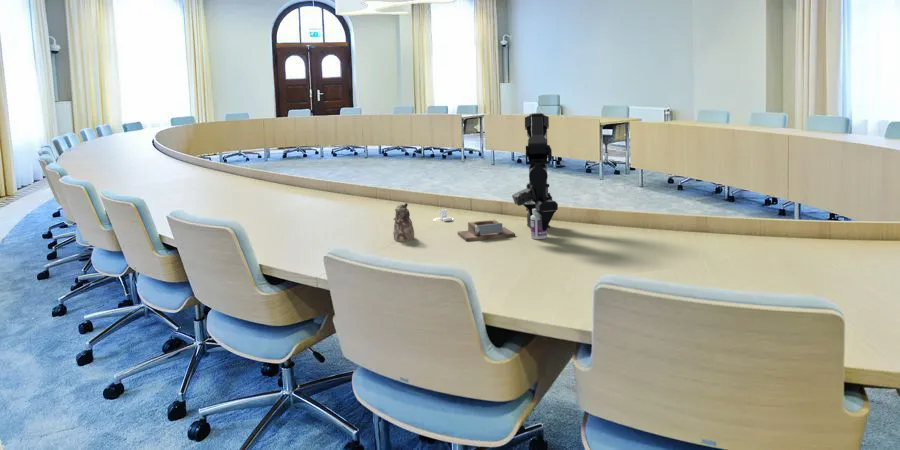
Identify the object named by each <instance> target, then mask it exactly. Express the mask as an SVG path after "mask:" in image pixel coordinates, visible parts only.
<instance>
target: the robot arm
mask: <svg viewBox="0 0 900 450" xmlns="http://www.w3.org/2000/svg"><path fill="white" fill-rule="evenodd" d="M549 119H550V117H549V116H548V115H545V114H544V113H541V112H537V113H536V112H533V113H531V114H530V113H529V115H527V116H526V117H524V130H526V136H527V137H528V139H527V145H525V165H529V166H528V181H529V182H528V183H527V184H526V188H524V189H521V190H519V191H516V192H515V193H513V194H511V197H512V200H513V202H514V204H515V205H517V206H523V207H524V208H525V210H526V211H528V213H526V215H527V216H526V219H527V220H526V226H527V227H529V228H531V220H530V218H531V216H532V215H533V213H532V209H534V208H536V212H537V213H538V214H539V215H540V219H541V226H542V230H543V231H546V229H547V230H548V228H551V225H550V223H551V220H552V218H553V216H554V214H555V213H556V212H557V210H559V204H558V202H557V201H555V200H553V196H552V195H551V192H549V188H550V183H548V175H549V174H548V166H547V165H551V162H552V161H553V158H552V157H553V155H552V151H553V150H552V147H551V145H550V144H548V138H546V136H547V133H548V131H547V130H549V129H550V120H549Z"/></svg>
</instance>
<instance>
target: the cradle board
mask: <svg viewBox="0 0 900 450" xmlns="http://www.w3.org/2000/svg"><path fill="white" fill-rule="evenodd" d="M496 223H500V222H499V221H497V220H496V219H489V220H478V221H468V222H467V229H468V230H460V231H459V230H458V231H457V235H458V236H459V237H460V238H462V240H463V241H465V242H473V241H481V240H482V241H484V240H492V239H494V240H495V239H504V238H512V237H516V233H515V232H513V230H510V228H507V227H506V226H502V229H503V232H502V233H492V234H482V235H475V225H486V224H496Z"/></svg>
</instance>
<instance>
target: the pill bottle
mask: <svg viewBox="0 0 900 450" xmlns="http://www.w3.org/2000/svg"><path fill="white" fill-rule="evenodd" d="M532 213H533V215H532V216H531V218H530V220H531V227H530V238H531V239H533V240H544V239H547V238H548V228H547V229H546V231H543V230H542V226H541V219H540V215H539V214H538V213H537V212H536V208H534V209H532Z"/></svg>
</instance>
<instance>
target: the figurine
mask: <svg viewBox="0 0 900 450" xmlns="http://www.w3.org/2000/svg"><path fill="white" fill-rule="evenodd" d="M408 205H409V204H408V203H407V202H405V203H404V204H402V203H400V204H398V205H397V207H395V209H394V210H395V217H394V218H393V221H394V225H393V232H392V233H393V240H395V242H409V241H413V240H414V239H415V228H414V225H413V221H412V219H411V218H410V211H409V209H408Z"/></svg>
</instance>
